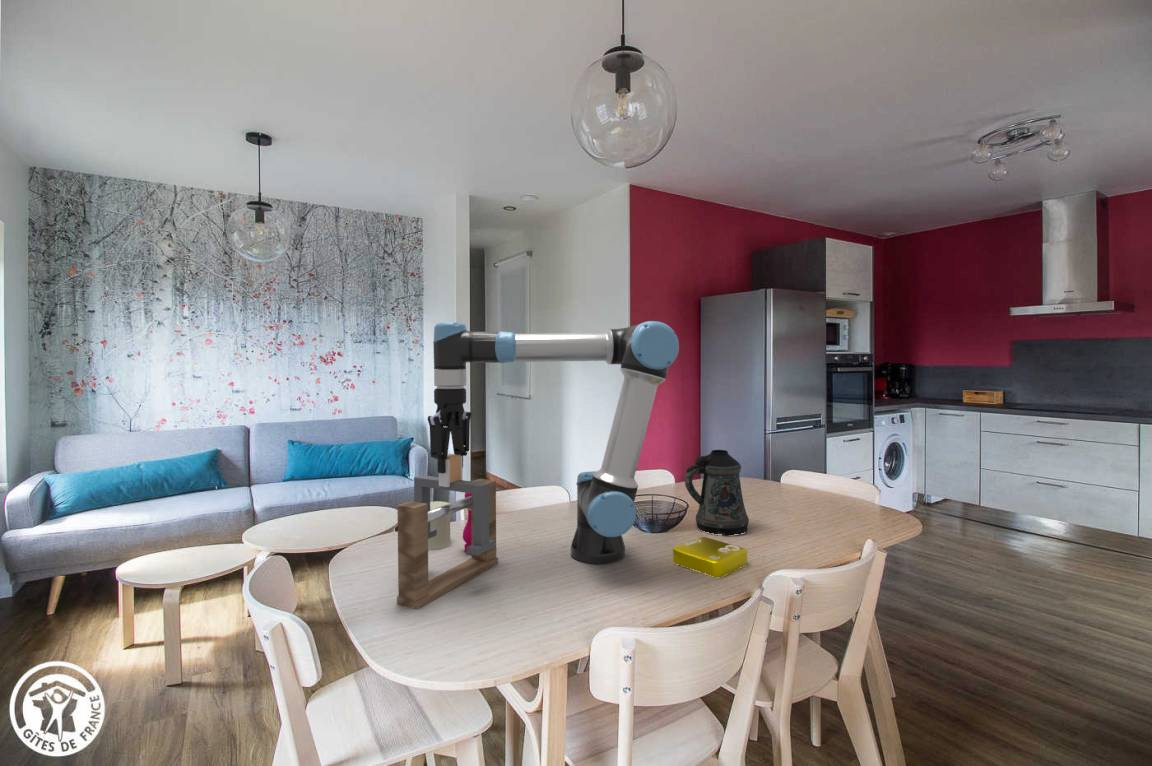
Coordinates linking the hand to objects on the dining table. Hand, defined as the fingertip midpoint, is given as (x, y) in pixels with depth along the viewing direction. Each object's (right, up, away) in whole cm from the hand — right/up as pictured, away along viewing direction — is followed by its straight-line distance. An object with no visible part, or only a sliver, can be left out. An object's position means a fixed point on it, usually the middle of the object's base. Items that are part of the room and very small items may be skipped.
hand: (450, 484), depth 131 cm
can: (-11, -23, +28) cm, 38 cm away
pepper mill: (+2, -23, +22) cm, 32 cm away
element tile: (+66, -24, +13) cm, 71 cm away
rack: (0, -24, +1) cm, 24 cm away
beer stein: (+76, -22, +42) cm, 90 cm away
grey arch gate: (0, -15, +1) cm, 15 cm away
